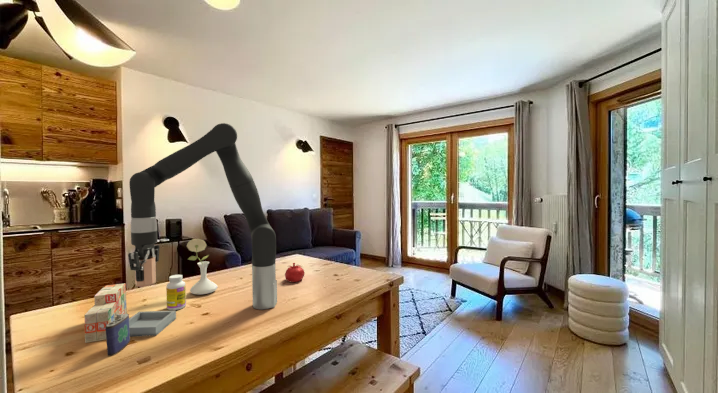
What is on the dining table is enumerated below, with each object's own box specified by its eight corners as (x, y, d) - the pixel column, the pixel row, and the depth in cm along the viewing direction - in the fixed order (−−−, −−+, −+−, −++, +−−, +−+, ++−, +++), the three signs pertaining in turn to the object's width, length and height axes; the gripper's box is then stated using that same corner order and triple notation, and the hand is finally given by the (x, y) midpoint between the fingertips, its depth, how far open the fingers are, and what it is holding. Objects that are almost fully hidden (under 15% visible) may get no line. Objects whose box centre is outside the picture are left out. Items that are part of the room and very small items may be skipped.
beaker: (158, 281, 112) (158, 256, 112) (149, 286, 107) (148, 260, 106) (142, 281, 112) (141, 256, 111) (132, 286, 106) (131, 260, 106)
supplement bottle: (177, 311, 123) (176, 279, 123) (162, 310, 125) (161, 278, 124) (189, 305, 130) (188, 274, 129) (175, 303, 131) (175, 273, 130)
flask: (123, 340, 101) (122, 308, 100) (133, 340, 101) (132, 307, 101) (104, 356, 92) (102, 321, 91) (115, 356, 92) (114, 320, 92)
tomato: (308, 279, 164) (308, 262, 163) (294, 284, 155) (295, 266, 155) (294, 276, 169) (294, 259, 168) (280, 280, 160) (280, 263, 160)
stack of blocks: (109, 339, 102) (107, 302, 101) (84, 343, 99) (82, 305, 99) (127, 313, 121) (125, 282, 121) (107, 316, 119) (105, 284, 118)
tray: (176, 318, 117) (175, 310, 117) (155, 335, 104) (155, 327, 104) (139, 319, 116) (139, 311, 116) (114, 337, 103) (114, 328, 103)
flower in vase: (221, 287, 150) (220, 236, 149) (211, 296, 139) (209, 240, 137) (194, 288, 150) (192, 236, 148) (181, 297, 138) (179, 241, 137)
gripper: (142, 233, 101) (144, 285, 102) (166, 226, 116) (168, 272, 117) (118, 233, 101) (120, 285, 102) (145, 227, 115) (147, 272, 116)
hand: (145, 278), depth 109 cm, fingers closed on beaker, 5 cm apart
